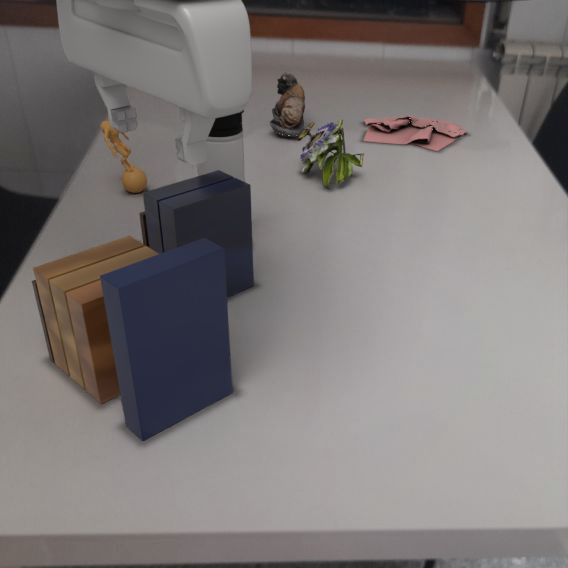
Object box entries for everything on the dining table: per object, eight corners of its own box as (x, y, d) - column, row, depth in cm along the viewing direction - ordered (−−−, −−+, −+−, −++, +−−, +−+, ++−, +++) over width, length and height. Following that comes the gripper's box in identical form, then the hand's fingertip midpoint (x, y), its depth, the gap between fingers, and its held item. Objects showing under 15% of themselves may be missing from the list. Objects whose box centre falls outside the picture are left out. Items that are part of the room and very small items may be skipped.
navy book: (125, 426, 71) (99, 275, 61) (215, 379, 77) (204, 237, 68) (142, 441, 69) (118, 288, 59) (232, 392, 76) (224, 248, 66)
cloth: (479, 133, 149) (481, 121, 148) (418, 159, 135) (419, 146, 134) (401, 110, 159) (402, 99, 158) (336, 132, 145) (336, 120, 144)
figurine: (142, 202, 113) (133, 127, 106) (104, 201, 113) (92, 125, 106) (153, 182, 120) (144, 109, 113) (116, 181, 120) (105, 108, 113)
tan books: (50, 360, 79) (27, 263, 72) (137, 323, 86) (123, 231, 79) (100, 404, 73) (81, 304, 66) (190, 361, 80) (180, 266, 73)
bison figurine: (306, 142, 140) (307, 89, 134) (269, 141, 139) (269, 88, 133) (303, 122, 149) (304, 72, 144) (269, 121, 149) (269, 71, 143)
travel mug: (236, 259, 100) (230, 114, 88) (194, 249, 101) (182, 106, 90) (256, 240, 104) (253, 101, 93) (216, 231, 106) (207, 93, 95)
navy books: (149, 292, 91) (135, 188, 83) (218, 265, 98) (212, 166, 90) (184, 316, 87) (173, 209, 79) (254, 286, 94) (250, 184, 86)
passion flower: (307, 202, 129) (294, 136, 129) (366, 191, 130) (353, 125, 130) (305, 189, 118) (291, 117, 118) (370, 177, 119) (356, 105, 118)
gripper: (20, -66, 53) (55, 119, 61) (185, -27, 42) (201, 193, 50) (96, -69, 57) (120, 106, 65) (266, -34, 46) (269, 172, 54)
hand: (156, 144), depth 58 cm, fingers open, 8 cm apart
